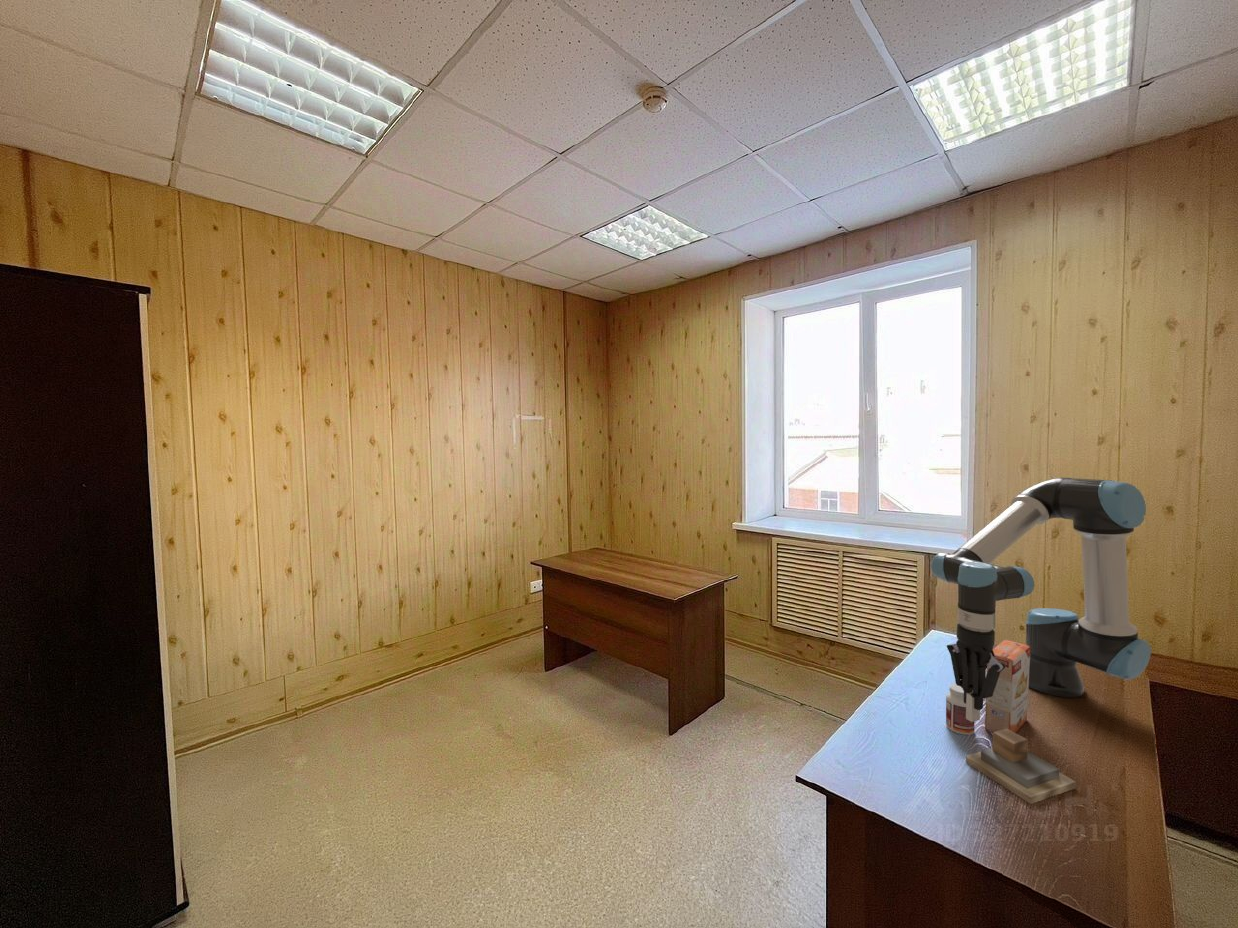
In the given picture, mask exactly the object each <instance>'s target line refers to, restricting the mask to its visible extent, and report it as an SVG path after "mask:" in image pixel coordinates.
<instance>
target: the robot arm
mask: <svg viewBox="0 0 1238 928" xmlns="http://www.w3.org/2000/svg"><path fill="white" fill-rule="evenodd" d="M1146 513H1147V506H1146V501H1145V497H1144V495H1143V494H1142V492H1141V490H1140V489H1138V488H1137V487H1136V485H1133V483H1129V482H1124V481H1116V480H1111V479H1096V478H1095V479H1091V478H1090V479H1089V478H1073V477H1072V478H1071V477H1055V478H1052V479H1047V480H1043V481H1041V482H1039V483H1037V484H1034V485H1032V486H1030V487H1028V488H1026V489H1024V490H1022V491H1021V492H1020V493H1019V494H1017V495H1016V496H1015V497H1014V498H1012V499H1011V502H1010V506H1009V507H1008V508H1006V509H1005V510H1004V511H1002V513H1000V514H999V515H998V516H996V518H994V519H993V520H991V521H990V522H989V523H988V524H987V525H985V526H984V527H983V528H982V529H980V531H978V532H977V533H976V534H975V535H973V536H972V537H971V538H970V539H968V540H967V541H966V542H965V543H964V544H962V545H961V546H960V547H958V548H957V549H956V550H955V551H954V552H953V553H949V552H939V553H937V554H935V555H934V557H933V558H932V560H931V564H930V568H931V572H932V574H933V576H935V577H936V578H938V579H940V580H942V581H945V582H948V583H950V584H954V585H957V595H958V596H957V601H958V602H957V618H956V621H957V624H956V638H957V640H956V643H952V644H947V645H946V648H947V650H948V653H949V654H950V659H951V664H952V669H953V670H952V671H953V675H954V680H955V684H956V685H957V686H960V687H962V688H963V691H964V703H965V704H966V719H967V720H969V721H971V722H973V721H974V722H976V721H980V718H981V710H983V708H984V699H986V698H989V697H992V696H993V693H994V690H995V687H996V684H997V681H998V678H999V675H1000V672H1001V671H1002V670H1003V669H1004V668H1005V665H1004V664H1003V663H999V662H998V661H997V660H996V659H995V658H994V657H995V655H994V652H993V649H994V645H995V639H996V637H995V636H996V632H995V630H994V629H996V605H997V601H1004V600H1013V599H1020V598H1022V597H1027V596H1028V595H1030V594H1032V592H1033V591H1034V589H1035V579H1034V577H1033V576H1032V574H1031V572H1029V571H1028V570H1026V569H1025V568H1023V567H1020V566H1011V565H1009V566H1006V567H1005V566H999V565H995V564H991V563H992V562H993V561H994V560H995V559H997V558H998V557H999V556H1000V555H1002V553H1004V552H1005V551H1006V550H1007V549H1009V548H1010V547H1012V545H1014V543H1016V542H1017V541H1018V540H1020V539H1021V538H1022V537H1023V536H1024V535H1025V534H1026V533H1028V532H1029V531H1030V530H1031V529H1033V528H1034V527H1035V526H1036V525H1042V524H1045V523H1046V522H1048V520H1051V519H1064V520H1070V521H1071V520H1072V524H1073V525H1072V526H1073V527H1072V528H1073V530H1074V531H1075V532H1076V533H1078V534H1079V535H1081V536H1080V537H1081V538H1080V539H1081V556H1082V557H1081V559H1082V561H1081V562H1082V575H1083V576H1082V577H1083V597H1084V598H1083V600H1084V616H1082V617H1081V618H1080V617H1079V615H1078V614H1077V613H1075V612H1074V611H1071V610H1068V609H1067V610H1066V609H1061V608H1053V607H1052V608H1050V607H1049V608H1048V607H1046V608H1045V607H1040V608H1039V607H1037V608H1034V609H1030V610H1029V611H1028V612H1027V615H1026V620H1025V645H1027V646H1030V665H1029V687H1028V688H1029V689H1033V690H1034V691H1037V692H1040V693H1043V694H1045V695H1051V696H1055V697H1060V698H1078V697H1081V696H1084V690H1085V689H1084V688H1085V686H1084V682H1083V680H1082V677H1081V675H1080V672H1079V668H1078V667H1077V664H1080V665H1083V666H1085V667H1087V668H1088V667H1089V668H1091V669H1093V670H1096V671H1099V672H1102V673H1105V674H1106V675H1108V676H1114V677H1116V678H1119V679H1123V680H1132V679H1136V678H1137V677H1139V676H1140V675H1141V674H1142V673H1143V672H1144V671H1145V669H1146V668H1147V666H1148V664H1149V662H1150V659H1151V654H1152V650H1151V648H1152V647H1151V646H1150V644H1149V642H1148V641H1146V640H1144V639H1143V638H1139V634H1138V633H1139V632H1138V628H1137V627H1136V625H1134V624H1133V623H1131V622H1130V610H1129V609H1130V607H1129V588H1128V587H1129V584H1128V582H1129V581H1128V559H1127V537H1128V536H1130V535H1131V534H1133V533H1134V532H1135V529H1134V528H1138V527H1140V526H1141V525H1142V523H1143V522H1144V520H1145V517H1144V516H1146ZM989 662H990V665H989V668H990V669H989V670H988V672H987V664H988V663H989Z"/></svg>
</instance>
